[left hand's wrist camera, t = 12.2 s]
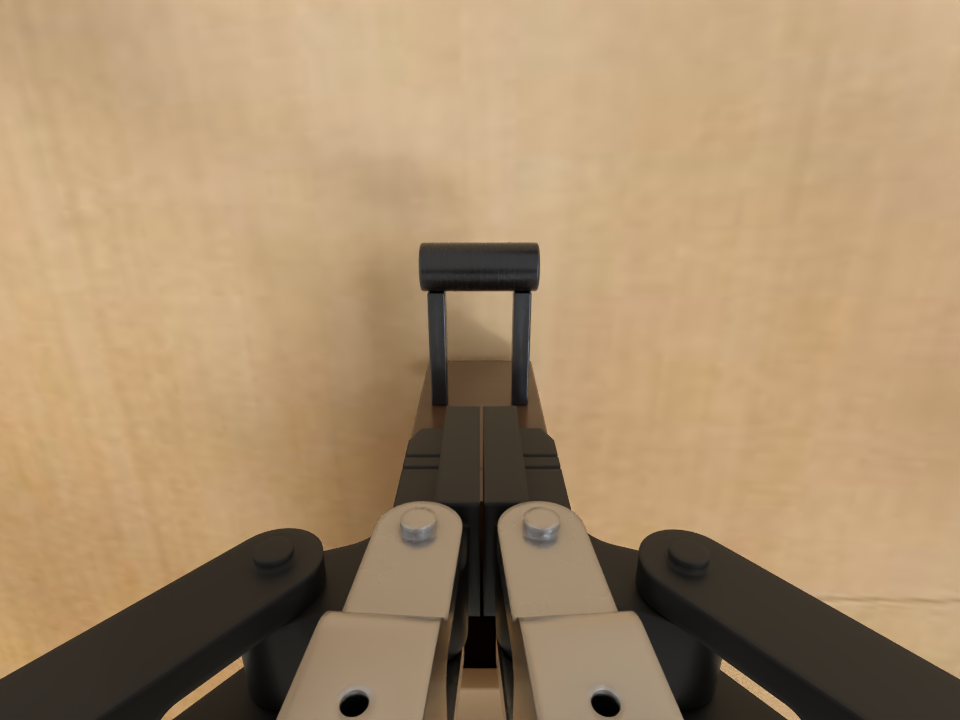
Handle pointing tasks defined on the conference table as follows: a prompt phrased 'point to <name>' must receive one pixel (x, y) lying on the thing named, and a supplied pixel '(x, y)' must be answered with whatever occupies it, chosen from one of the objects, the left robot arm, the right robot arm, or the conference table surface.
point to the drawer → (479, 367)
